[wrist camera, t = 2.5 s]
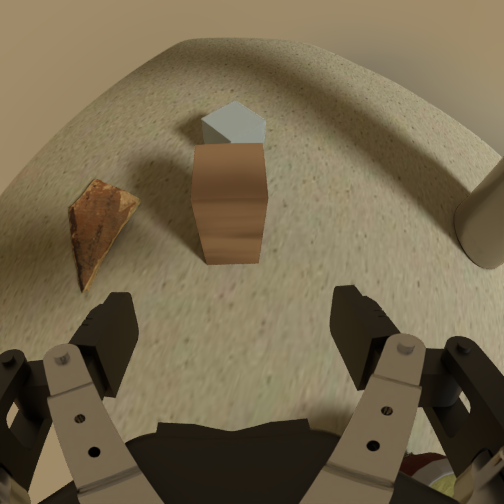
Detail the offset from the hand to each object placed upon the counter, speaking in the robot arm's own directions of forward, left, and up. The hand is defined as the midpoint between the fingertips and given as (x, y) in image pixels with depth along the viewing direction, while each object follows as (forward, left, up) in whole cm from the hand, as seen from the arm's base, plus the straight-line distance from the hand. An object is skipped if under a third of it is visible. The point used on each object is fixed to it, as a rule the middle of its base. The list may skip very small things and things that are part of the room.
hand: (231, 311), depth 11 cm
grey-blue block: (-7, -19, -13) cm, 24 cm away
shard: (+8, -15, -14) cm, 22 cm away
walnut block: (-3, -9, -13) cm, 16 cm away
